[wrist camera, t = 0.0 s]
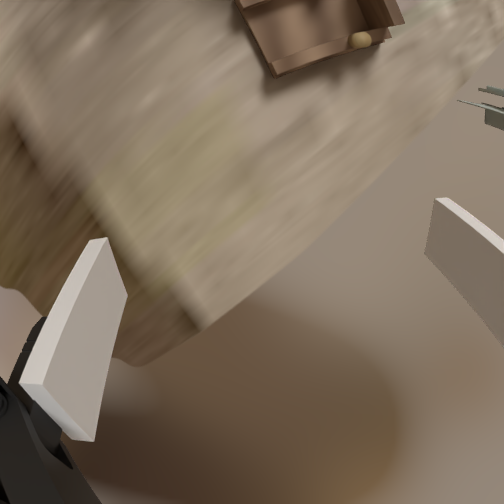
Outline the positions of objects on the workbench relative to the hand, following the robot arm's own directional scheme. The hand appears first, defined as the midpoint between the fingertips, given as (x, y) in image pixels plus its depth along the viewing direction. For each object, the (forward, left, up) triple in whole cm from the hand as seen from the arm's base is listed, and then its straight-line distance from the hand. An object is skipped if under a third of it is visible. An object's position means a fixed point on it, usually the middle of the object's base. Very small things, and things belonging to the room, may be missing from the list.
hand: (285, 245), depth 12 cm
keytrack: (-13, +10, -28) cm, 33 cm away
